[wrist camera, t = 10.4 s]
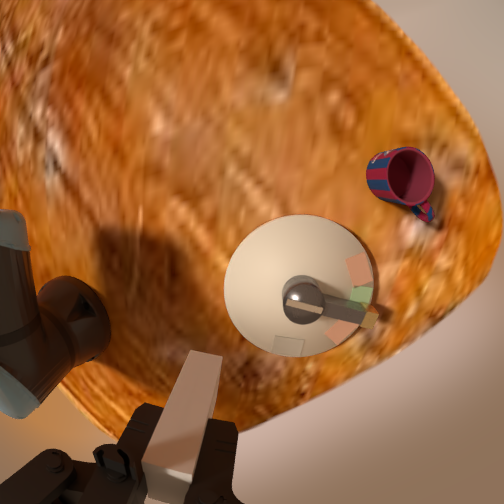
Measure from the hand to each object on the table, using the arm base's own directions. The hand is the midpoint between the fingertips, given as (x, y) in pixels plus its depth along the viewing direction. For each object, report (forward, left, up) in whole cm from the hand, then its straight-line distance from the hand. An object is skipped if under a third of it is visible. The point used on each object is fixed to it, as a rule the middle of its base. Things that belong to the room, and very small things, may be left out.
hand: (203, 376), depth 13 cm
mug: (+18, +12, -27) cm, 34 cm away
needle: (+12, -4, -25) cm, 28 cm away
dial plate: (+8, -4, -26) cm, 28 cm away
